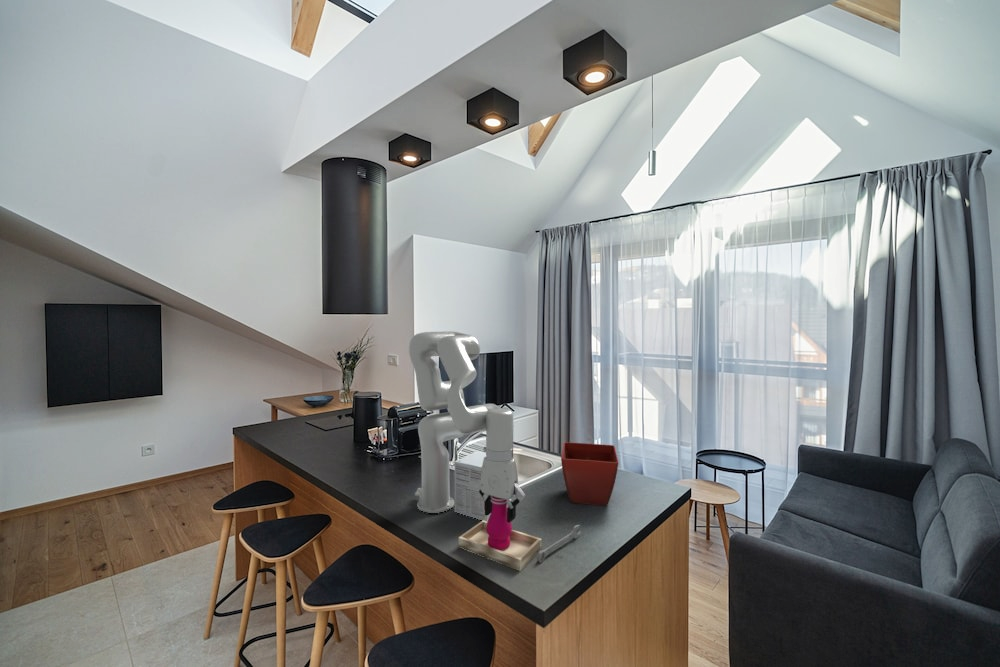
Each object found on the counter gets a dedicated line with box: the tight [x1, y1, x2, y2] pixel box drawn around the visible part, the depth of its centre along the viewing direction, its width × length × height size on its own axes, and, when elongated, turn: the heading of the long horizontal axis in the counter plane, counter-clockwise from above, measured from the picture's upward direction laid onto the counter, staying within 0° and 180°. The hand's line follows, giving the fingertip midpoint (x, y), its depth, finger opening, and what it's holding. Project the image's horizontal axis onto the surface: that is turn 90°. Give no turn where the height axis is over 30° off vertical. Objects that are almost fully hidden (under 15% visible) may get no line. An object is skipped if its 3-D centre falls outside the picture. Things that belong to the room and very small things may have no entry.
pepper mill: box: [486, 496, 513, 550], centre depth 117 cm, size 7×7×20 cm
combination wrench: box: [536, 524, 582, 563], centre depth 117 cm, size 4×1×20 cm
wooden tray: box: [458, 520, 543, 572], centre depth 116 cm, size 20×12×3 cm, turn 57°
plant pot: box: [560, 441, 619, 507], centre depth 149 cm, size 19×19×17 cm
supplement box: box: [454, 450, 491, 522], centre depth 140 cm, size 13×13×18 cm
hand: (499, 516), depth 116 cm, fingers open, 6 cm apart
